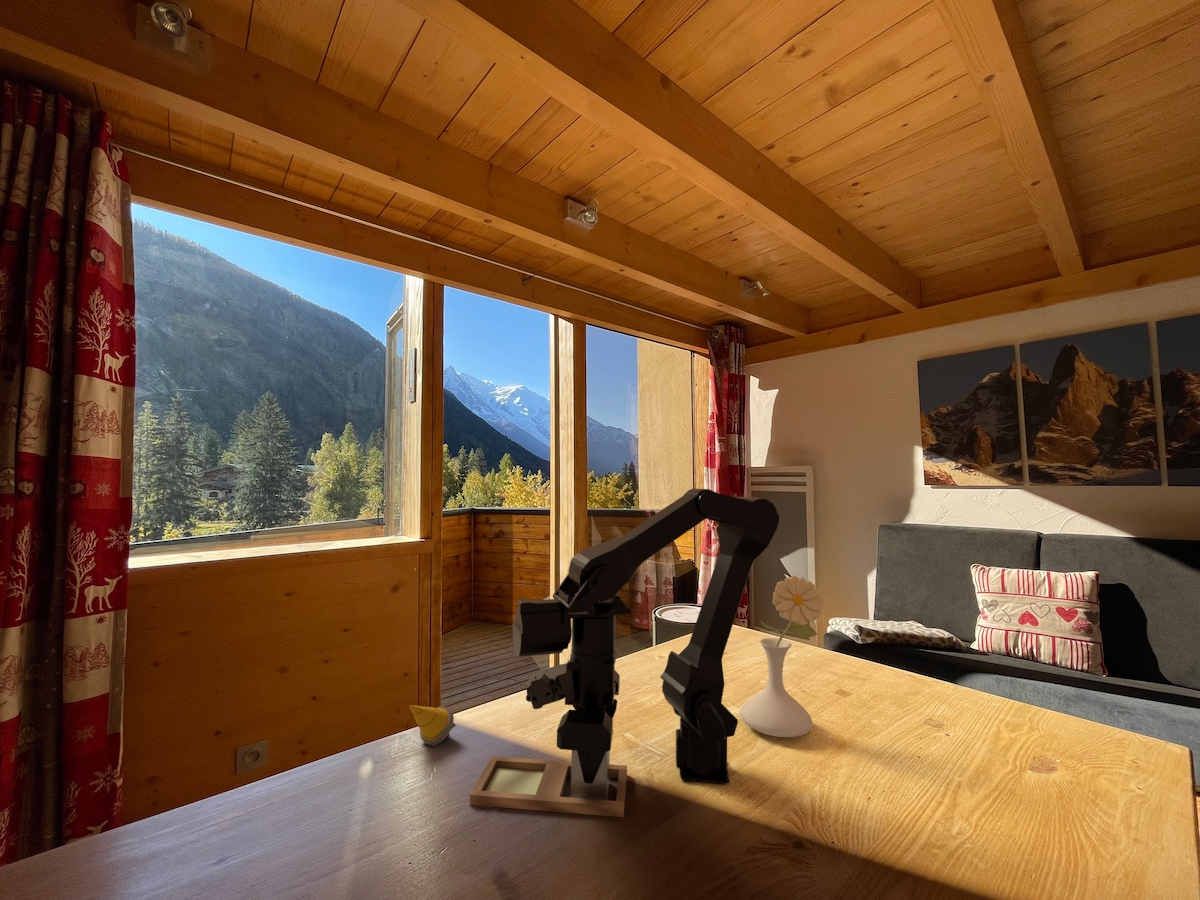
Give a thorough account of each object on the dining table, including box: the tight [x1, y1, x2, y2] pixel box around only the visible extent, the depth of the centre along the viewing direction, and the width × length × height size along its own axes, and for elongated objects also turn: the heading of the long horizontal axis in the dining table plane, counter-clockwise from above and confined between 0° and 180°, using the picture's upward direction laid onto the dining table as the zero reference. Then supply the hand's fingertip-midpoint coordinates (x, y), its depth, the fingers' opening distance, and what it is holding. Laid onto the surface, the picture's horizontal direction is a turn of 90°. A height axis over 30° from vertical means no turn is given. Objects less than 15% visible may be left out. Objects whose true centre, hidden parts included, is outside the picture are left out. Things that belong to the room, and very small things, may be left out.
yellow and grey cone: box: [408, 704, 457, 746], centre depth 79 cm, size 5×5×10 cm
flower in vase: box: [739, 575, 824, 738], centre depth 86 cm, size 13×11×25 cm
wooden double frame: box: [469, 755, 628, 818], centre depth 68 cm, size 19×9×1 cm, turn 85°
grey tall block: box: [570, 750, 611, 800], centre depth 68 cm, size 4×4×9 cm
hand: (590, 771), depth 67 cm, fingers closed on grey tall block, 4 cm apart
